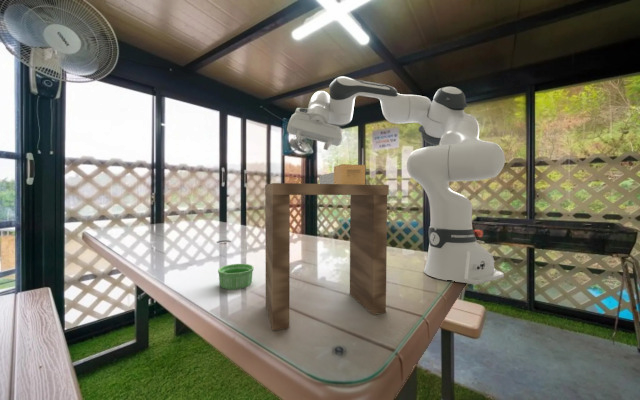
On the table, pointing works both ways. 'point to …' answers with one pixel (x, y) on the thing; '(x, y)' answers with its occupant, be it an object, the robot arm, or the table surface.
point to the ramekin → (235, 276)
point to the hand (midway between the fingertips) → (312, 145)
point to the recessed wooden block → (345, 175)
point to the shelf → (364, 244)
